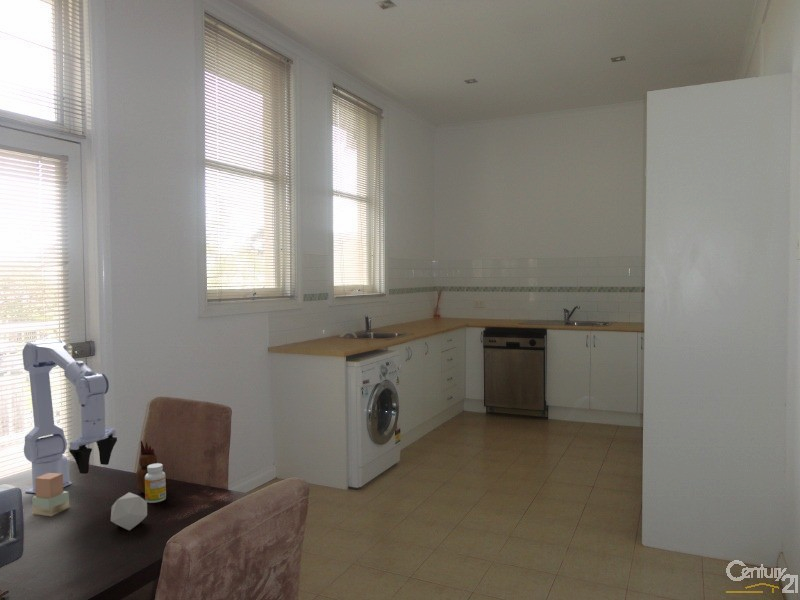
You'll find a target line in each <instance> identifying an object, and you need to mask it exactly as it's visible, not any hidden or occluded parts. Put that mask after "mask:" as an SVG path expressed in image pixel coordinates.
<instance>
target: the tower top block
mask: <svg viewBox="0 0 800 600" xmlns="http://www.w3.org/2000/svg"><path fill="white" fill-rule="evenodd" d="M31 498H32V500H31V501H32V503H31V504H32V507H33V506H34V507H40V508H46V509H50V508H53V507H55V506H58V505H60V504H63V503H65V502H68V501H69V502H70V492H69V491H66V490H63V492H62V493H60V494H58V495H56V496H54V497H52V498H43V497H36V495H34V496H32V497H31Z"/></svg>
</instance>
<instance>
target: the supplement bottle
mask: <svg viewBox="0 0 800 600" xmlns="http://www.w3.org/2000/svg"><path fill="white" fill-rule="evenodd" d="M163 465H164V464H162V463H159V462H157V463H156V464H151V465H148V466H147V472H148V473H147V474H146V475H145V493H144V500H145V501H147V504H148V503H149V504H154V503H160V502H163V501H165V500H166V498H167V488H166V487H167V486H166V485H167V483H166V472H164V471H163Z"/></svg>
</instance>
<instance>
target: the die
mask: <svg viewBox="0 0 800 600" xmlns="http://www.w3.org/2000/svg"><path fill="white" fill-rule="evenodd" d="M110 509H111V510H110V512H111V513H110V522H112V523H113V524H115V525H117V526H119V527H121V528H122V529H124V530H127V531H129V532H130V531H131V530H132V529H134V528H135V527H136V526H137V525H139V524H140V523H141V522H143V520H145V518H146V517H147V516H148V502H147V501H146V500H145V498H142V497H141V496H140V495H137V494H135V493H132V492H129V491H128V492H127V493H126V494H124V495H122V496H121V497H119V498H117V499H116V500H115V502H114V503H113V504H112V505H111V508H110Z"/></svg>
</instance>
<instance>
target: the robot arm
mask: <svg viewBox="0 0 800 600" xmlns="http://www.w3.org/2000/svg"><path fill="white" fill-rule="evenodd" d="M21 352H22V362H23V363H22V364H23V369H24V371H25V372H28V374H29V384H30V385H29V386H30V393H31V395H30V396H31V404H32V416H33V424H34V427H33V428H32V429H31V430H30V431H29V432H28V433H27V434H25V436H24V446H23V454H24V457H25V458H26V460H27V461H29V462H31V477H32V478H31V481H32V482H31V483H32V484H31V485H32V486H31V488H27V489H26V490H24V493H30V494H31V493H32V494H36V488H35V478H37V477H39V476H42V475H44V474H47V473H60V474H63V488H65V487H67V486H70V485H72V481H70V462H69V460H68V458H67V457H66V456H65V455H63V454H65V453H66V451H67V448H68V441H67V439H66V436H65V432H64V429H63V428H61V427H59V426H57V425H55V417H54V410H53V409H54V407H53V398H52V397H53V396H52V390H51V389H52V387H51V378H50V373H51V371H52V370H53V369H54V368H56V367H59V368H61V369H62V370H64V373H63V375H64V377H65V378H66V379H67V380H68V381H69V382H70V383H72V385H74V386H75V392H76V394H77V397H78V403H79V404H80V418H81V426H80V427H81V436H79V437H78V438H76V439H74V440H72V441H70V442H69V453H70V454H71V456H72V457H73V459H74V461H75V463H76V465H77V468H78V471H79V474H85V475H86V474H89V468H90V457H91V454H92V450H93V448H91V447H88V445H91V444H94V443H96V446H97V448H98V453H99V463H100V465H101V466H102V465H105V466H106V465H107V466H108V465H109V463H110V459H111V457H112V452H113V449H114V447H115V445H116V443H117V442H118V437H116V435H117V434H116V433H117V432H116V428H106V406H105V404H106V403H105V402H106V401H105V400H106V399H105V395H106V394H107V393H108V392H109V388H110V383H109V379H108V377H107V376H106V374H105V373H104V372H103V373H102V372H100V373H99V372H95V371H93V370H92V369H91V368H90V367H89V366H88V365H87V364H86V363H85V362H84V361H83V360H76V359H74V358H73V356H72V355H71V354H70V353H69V352H68V347H67V343H65V341H64V340H63V339H55V340H46V341H45V340H43V341H29V342H27V343H25V345H24V347H23V349H22V351H21ZM114 436H115V437H114Z"/></svg>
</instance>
